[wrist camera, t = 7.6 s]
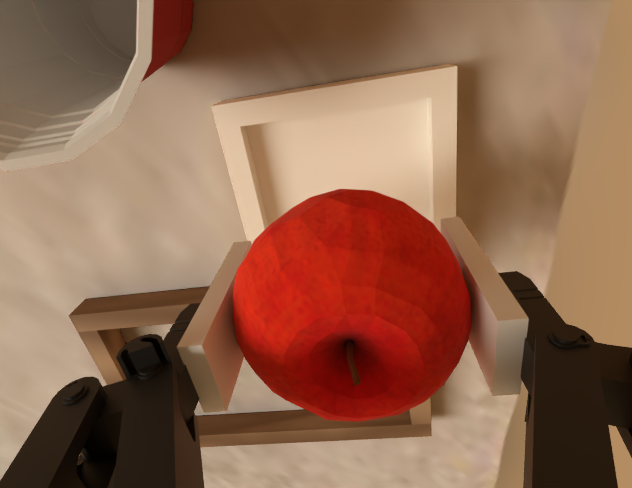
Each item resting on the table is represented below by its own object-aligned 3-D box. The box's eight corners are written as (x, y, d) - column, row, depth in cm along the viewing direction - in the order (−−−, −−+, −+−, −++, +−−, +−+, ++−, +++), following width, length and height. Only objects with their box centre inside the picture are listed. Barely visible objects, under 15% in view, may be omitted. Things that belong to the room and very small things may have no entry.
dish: (221, 100, 22) (211, 106, 20) (447, 64, 20) (457, 66, 19) (268, 283, 28) (263, 300, 26) (447, 265, 26) (455, 281, 24)
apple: (266, 321, 19) (224, 468, 12) (245, 163, 15) (171, 254, 9) (431, 322, 18) (479, 478, 12) (451, 158, 15) (537, 252, 8)
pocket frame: (85, 299, 29) (68, 315, 27) (421, 265, 26) (426, 281, 24) (153, 429, 36) (143, 449, 34) (426, 414, 33) (431, 436, 31)
